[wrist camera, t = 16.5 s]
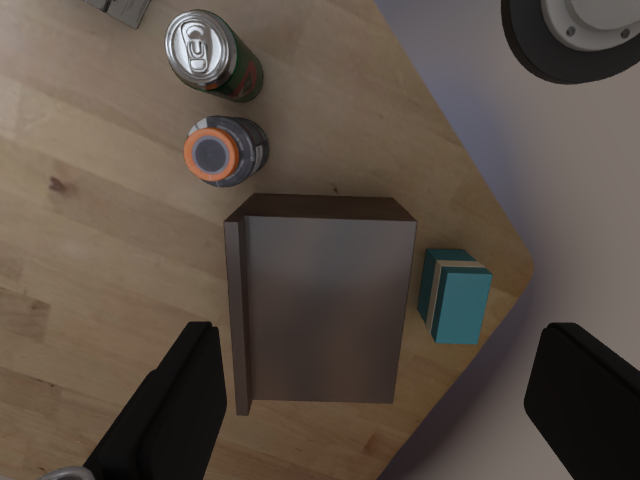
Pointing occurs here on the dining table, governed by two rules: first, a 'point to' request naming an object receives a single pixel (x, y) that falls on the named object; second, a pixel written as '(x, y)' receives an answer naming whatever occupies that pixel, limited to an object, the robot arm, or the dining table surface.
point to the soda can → (212, 57)
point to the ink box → (122, 9)
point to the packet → (453, 296)
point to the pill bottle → (225, 150)
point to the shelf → (317, 297)
